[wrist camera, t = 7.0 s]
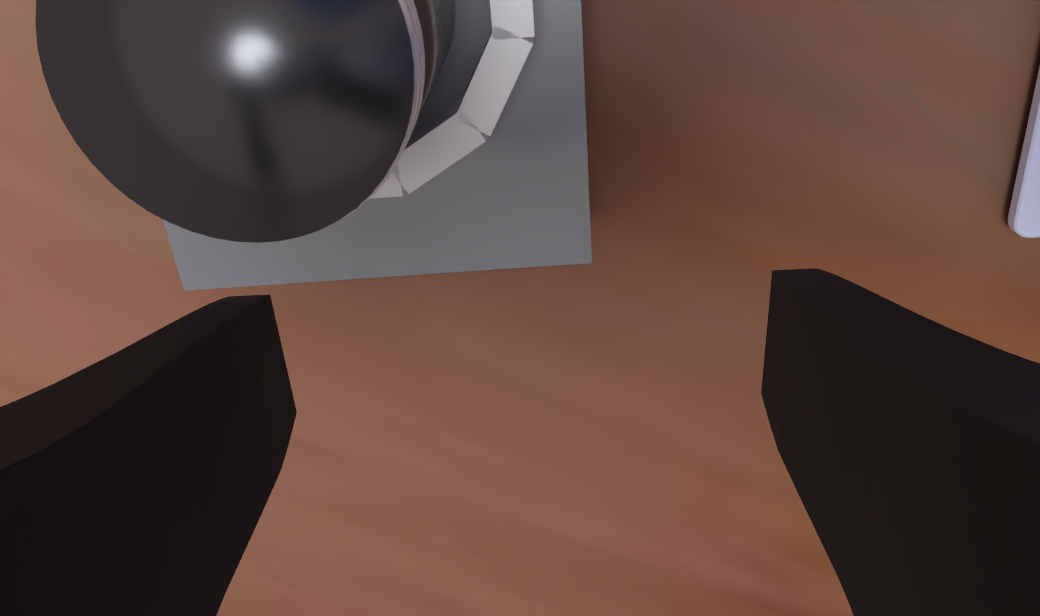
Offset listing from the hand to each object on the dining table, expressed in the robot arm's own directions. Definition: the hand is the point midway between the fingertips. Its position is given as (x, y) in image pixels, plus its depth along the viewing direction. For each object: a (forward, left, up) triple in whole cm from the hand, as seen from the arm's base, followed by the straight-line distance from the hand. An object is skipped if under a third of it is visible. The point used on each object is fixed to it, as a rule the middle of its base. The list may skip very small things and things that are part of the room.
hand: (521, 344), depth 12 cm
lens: (+4, -4, -8) cm, 9 cm away
